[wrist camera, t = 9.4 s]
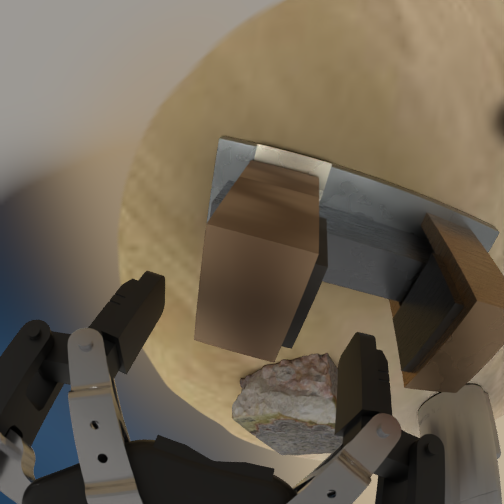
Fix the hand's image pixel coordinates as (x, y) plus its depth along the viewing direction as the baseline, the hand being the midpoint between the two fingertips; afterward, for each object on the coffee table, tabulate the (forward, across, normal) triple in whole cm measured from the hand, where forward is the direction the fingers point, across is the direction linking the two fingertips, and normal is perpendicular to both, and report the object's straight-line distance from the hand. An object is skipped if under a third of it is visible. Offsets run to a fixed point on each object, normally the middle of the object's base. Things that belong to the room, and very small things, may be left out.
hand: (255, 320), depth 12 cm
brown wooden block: (+8, +1, 0) cm, 9 cm away
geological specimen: (+11, -8, +21) cm, 25 cm away
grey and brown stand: (+10, -5, 0) cm, 11 cm away
